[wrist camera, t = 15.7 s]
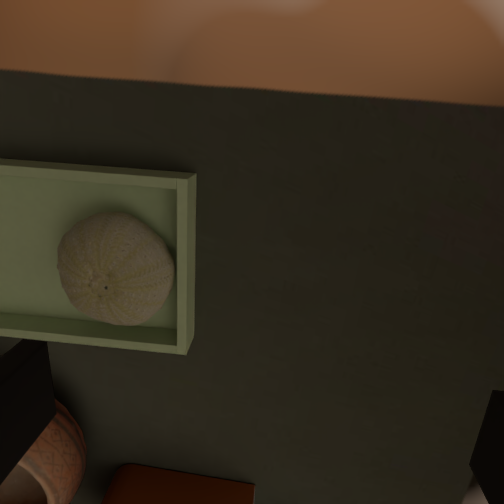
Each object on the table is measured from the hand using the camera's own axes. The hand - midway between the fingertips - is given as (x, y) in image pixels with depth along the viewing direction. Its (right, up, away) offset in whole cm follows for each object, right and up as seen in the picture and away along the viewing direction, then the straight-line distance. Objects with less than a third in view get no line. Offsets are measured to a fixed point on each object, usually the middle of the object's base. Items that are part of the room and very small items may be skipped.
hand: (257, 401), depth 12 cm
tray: (-16, +5, +22) cm, 27 cm away
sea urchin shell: (-11, +4, +21) cm, 24 cm away
